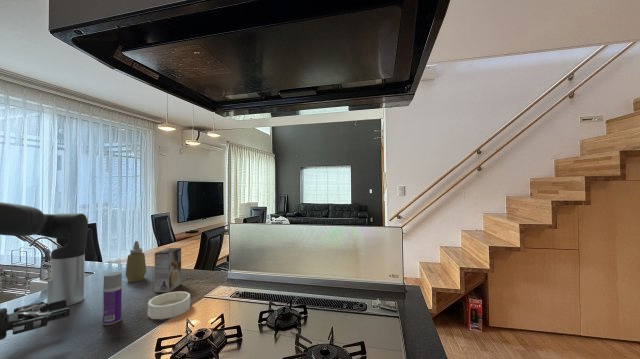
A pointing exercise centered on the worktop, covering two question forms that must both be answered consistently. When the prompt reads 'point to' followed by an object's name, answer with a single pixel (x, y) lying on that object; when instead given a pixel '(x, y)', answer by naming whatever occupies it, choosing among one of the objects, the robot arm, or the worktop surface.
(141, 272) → the squeeze bottle
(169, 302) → the bowl
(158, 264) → the coffee box
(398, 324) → the worktop surface
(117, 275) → the container
